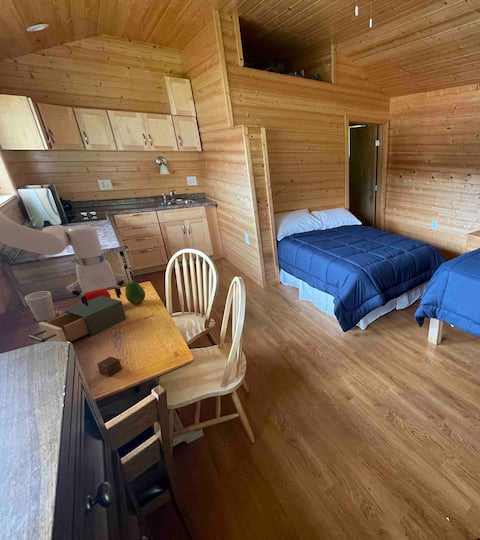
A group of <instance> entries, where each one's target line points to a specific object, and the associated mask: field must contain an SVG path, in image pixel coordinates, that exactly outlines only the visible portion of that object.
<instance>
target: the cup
mask: <svg viewBox="0 0 480 540" xmlns="http://www.w3.org/2000/svg"><path fill="white" fill-rule="evenodd" d="M24 300H25V301H26V304H27V305H28V307H29V309H30V310H31V313H32V315H33V316H34V319H35V320H36V322H45V321H48V320H51V319H53V318H56V317H57V314H56V311H55V307H54V303H53V302H54V301H53V297H52V293H51V291H49V290H41V291H35V292H32V293H28V294H26V295H25V296H24Z"/></svg>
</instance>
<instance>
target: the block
mask: <svg viewBox="0 0 480 540" xmlns="http://www.w3.org/2000/svg"><path fill="white" fill-rule="evenodd" d="M96 364H97V369H98V371H99V374H100V375H101V376H105V377H108V378H110V377H112V376H114V375H115V374H117V373H118V372H120V371H122V370H123V366H122V364H121V360H120V358H116V357H113V356H111V355H110V356H108V357H106V358H105V359H103V360H101V361H99V362H98V363H96Z"/></svg>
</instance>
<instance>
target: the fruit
mask: <svg viewBox="0 0 480 540" xmlns="http://www.w3.org/2000/svg"><path fill="white" fill-rule="evenodd" d="M124 290H125V293H124V294H125V298H126V300H127V302H129V303H131V304H133V305H137V304H141V303H142V302H144V300H145V298H146V292H145V289H144V288H143V287H142V286H141V285H140V284H139V283H138V282H136V281H135V280H134V281H133V280H132V281H128V282H127V283H126V285H125V289H124Z"/></svg>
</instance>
